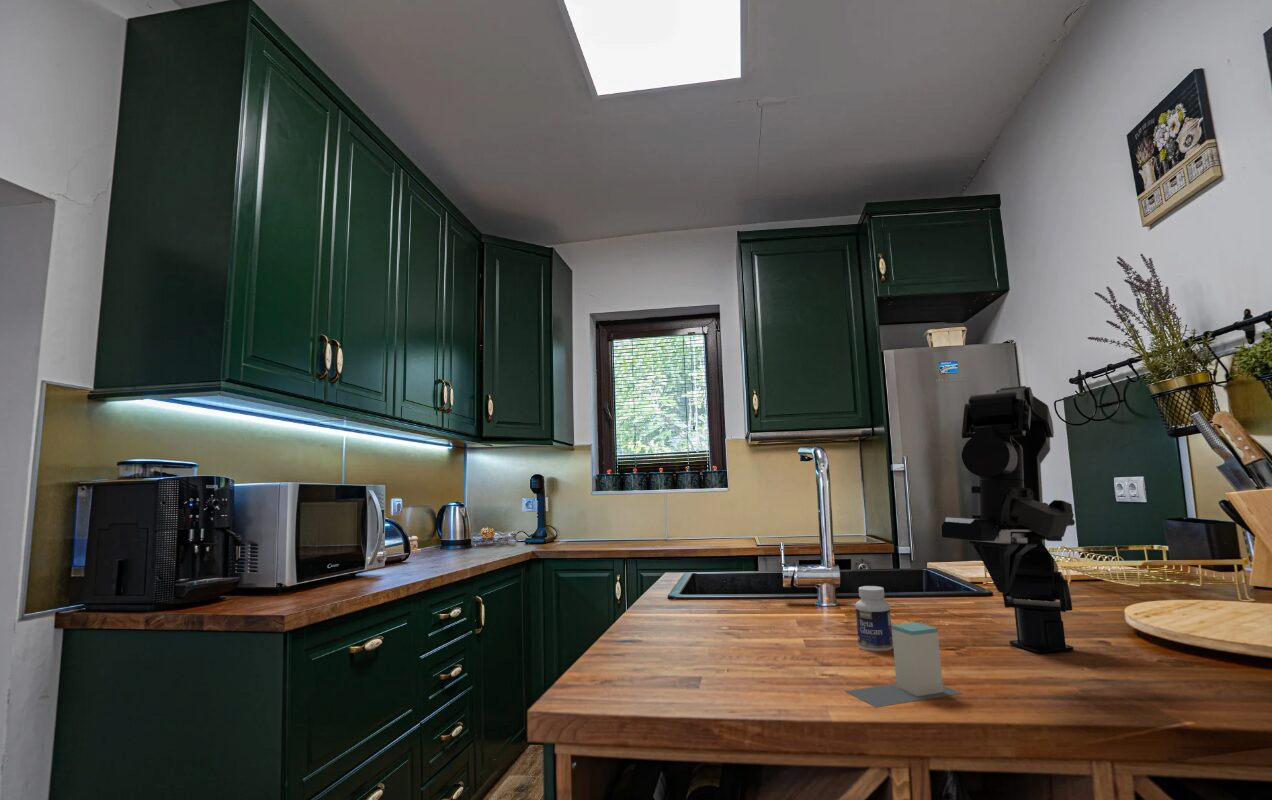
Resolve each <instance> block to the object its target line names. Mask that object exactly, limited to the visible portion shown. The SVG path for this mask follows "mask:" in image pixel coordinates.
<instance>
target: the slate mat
mask: <svg viewBox="0 0 1272 800" xmlns="http://www.w3.org/2000/svg"><path fill="white" fill-rule="evenodd" d="M844 692H845V693H846V694H848V695H851V696H852V697H853V698H856V699H858V700H860V701H862V702H865V704H866V703H867V704H868V705H870V706H872V707H874V708H879V707H887V706H893V705H899V704H906V703H912V702H913V703H914V702H919V701H925V700H931V699H937V698H944V697H951V696H956V695H963V694H964V693H963V692H960V691H958V690H955V689H953V688H950V687H948V686H946V685H943V692H941V693H935V694H928V695H922V696H916V695H913V694H911V693H909V692H907V691H904V690H902V689H900V688H898V687H897V683H890V684H885V685H884V684H883V685H879V686H877V685H876V686H871V687H864V688H858V689H857V688H855V689H851V690H844Z"/></svg>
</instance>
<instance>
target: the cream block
mask: <svg viewBox="0 0 1272 800" xmlns="http://www.w3.org/2000/svg"><path fill="white" fill-rule="evenodd" d="M891 629H892V641H893V656H894V658H893V660H894V669H895V670H894V671H895V681H896V683H895V684H897V687H898V688H900V689H902V690H904V691H907V692H909V693H911V694H913V695H916V696H922V695H928V694H935V693H941V692H943V686H944V684H943V675H942V664H941V654H940V653H941V652H940V641H939V633H938V631H939V630H938V628H937V627H934V626H932V625H927V624H923V623H921V622H907V623H901V624H900V623H899V624H891Z"/></svg>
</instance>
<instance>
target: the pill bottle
mask: <svg viewBox="0 0 1272 800" xmlns="http://www.w3.org/2000/svg"><path fill="white" fill-rule="evenodd" d="M858 596H859V598H860V599H859V600H858V601H856V603H855V617H856V629H857V644H858V648H859V649H861V650H862V651H864V650H866V651H870V652H871V651H872V652H886V651H890V650H893V649H894V647H893V635H892V618H891V607H890V603H888V601H886V600H884V598H885V589H884V587H882V586H878V585H877V586H876V585H863V586H859V587H858Z"/></svg>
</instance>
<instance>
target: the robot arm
mask: <svg viewBox="0 0 1272 800" xmlns="http://www.w3.org/2000/svg"><path fill="white" fill-rule="evenodd" d="M962 419H963V420H962V427H961V439H963V440H967V442H966V443H965V444H964V446H963V448H962V451H961V460H962V463H963V466H964V467H965V468H966V469H967V471H969V472H970V473H972V474H973V475H975V476H976V477H977V478H978V479H977V480H978V482H977V483H978V484H977V485H976V486H975V485H972V486H971V494H978V514H971V515H972V516H971V517H972V518H970V517H945V518H944V519H943V520H942V522H940V538H946V539H956V540H963V541H964V540H965V541H968V544H969V545H972V547H973V549H974V550H975V551H976V553H977V554H978V556H979V558H980V560H981V561H982V563H983V565H984V566H985V568H986V570H987V572H988V574H989V576H990V578H991V580H992V582H993V584H994V586H995V588H996V591H998V592H999V593H1002V599H1003V604H1004V608H1007V609H1009V608H1013V609H1014V610H1013V611H1014V616H1015V617H1014V619H1015V628H1016V637H1017V639H1013V640H1009V641H1008V643H1009V644H1010V645H1012V646H1015V647H1018V648H1021V649H1023V650H1027V651H1031V652H1034V653H1036V654H1045V653H1047V654H1048V653H1055V652H1056V653H1057V652H1066V651H1073V650H1075V649H1074V646H1073V645H1069V644H1067V643H1066V636H1065V627H1064V620H1062V619H1063V618H1062V613H1066V612H1071V611H1073V609H1074V608H1073V601H1072V596H1071V595H1072V593H1071V590H1070V586H1069V582H1068V580H1067V579H1065V577H1064V574H1063V572H1062V571H1059V566H1058V563H1057V561H1056V560H1055V559H1054V556H1053V555H1052V554H1051V552H1050V551H1049V550H1048V548H1047V547H1046V541H1047V542H1048V541H1049V542H1062V541H1063V537H1064V536H1065V534H1066V530H1067V527H1069V526H1070V527H1071V526H1074V525H1075V524H1076V521H1075V520H1074V515H1075V514H1074V510H1073V504H1072V503H1070V502H1067V501H1065V500H1062V499H1061V500H1060V499H1054V500H1053V501H1051V502H1050V503H1046V502H1044V501H1043V499H1044V498H1043V486H1042V485H1043V484H1042V483H1043V482H1042V467H1041V466H1042V465H1041V464H1042V463H1043V461H1044V460H1045V458H1046V457H1047V455H1049V453H1050V451H1051V438H1054V436H1055V435H1054V424H1053V418H1052V416H1051V412H1050V408H1049V405H1047V404H1046V402H1043V401H1042V400H1041V399H1039V398H1038V397H1036V396H1034V394H1033V391H1032V388H1031V387H1030V386H1026V385H1021V386H1012V387H1001V388H1000V389H997V390H996V391H995V393H984V394H975V395H971V396H970V397H969V398H968V403H965V404H964V408H963V417H962ZM1057 600H1058V601H1057Z"/></svg>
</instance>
